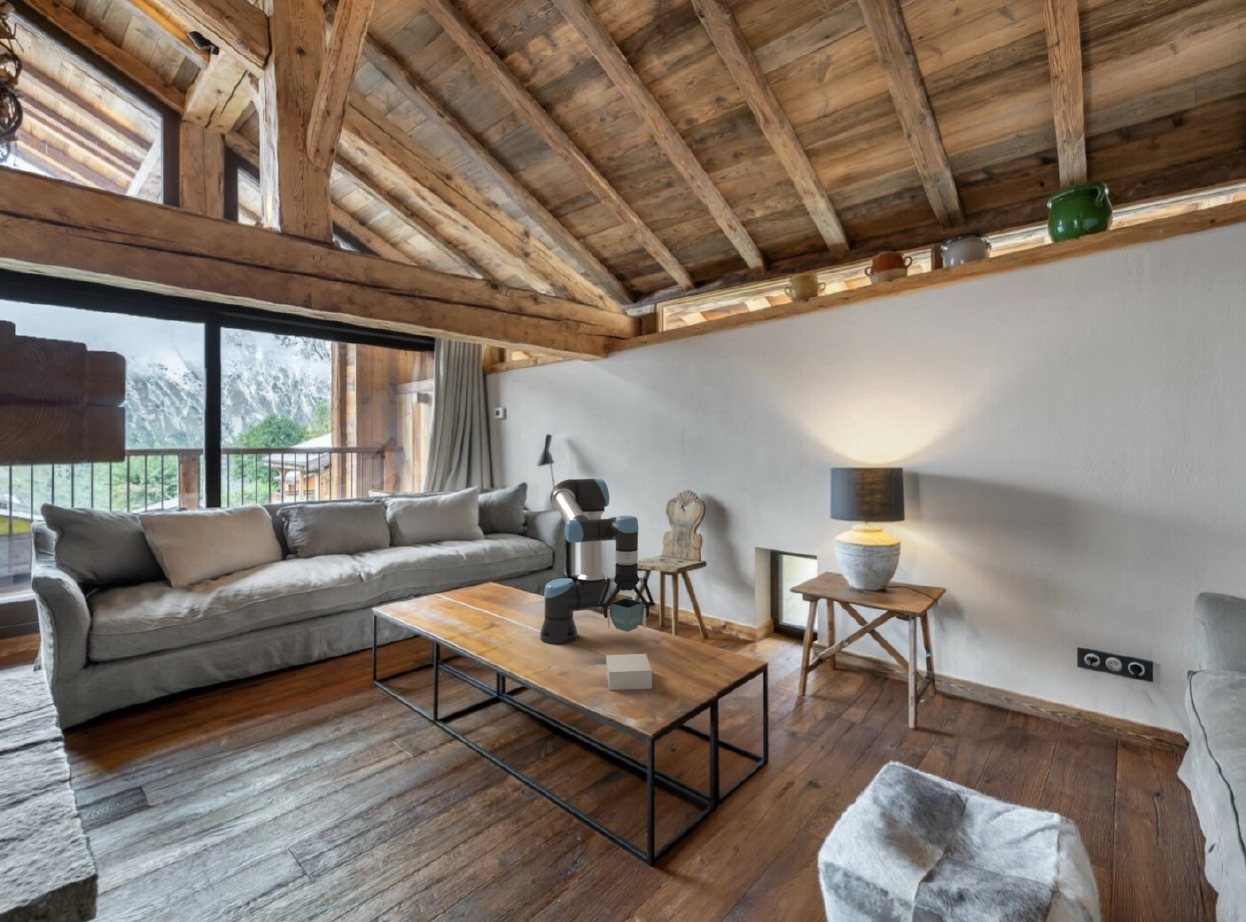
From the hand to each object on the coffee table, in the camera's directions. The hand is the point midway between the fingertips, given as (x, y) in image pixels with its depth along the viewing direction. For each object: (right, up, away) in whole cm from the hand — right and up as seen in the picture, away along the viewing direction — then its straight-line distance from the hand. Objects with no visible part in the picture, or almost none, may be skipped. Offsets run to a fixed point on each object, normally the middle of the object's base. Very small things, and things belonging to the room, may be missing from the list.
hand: (626, 626), depth 187 cm
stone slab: (+1, -18, +1) cm, 18 cm away
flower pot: (0, -1, 0) cm, 1 cm away
